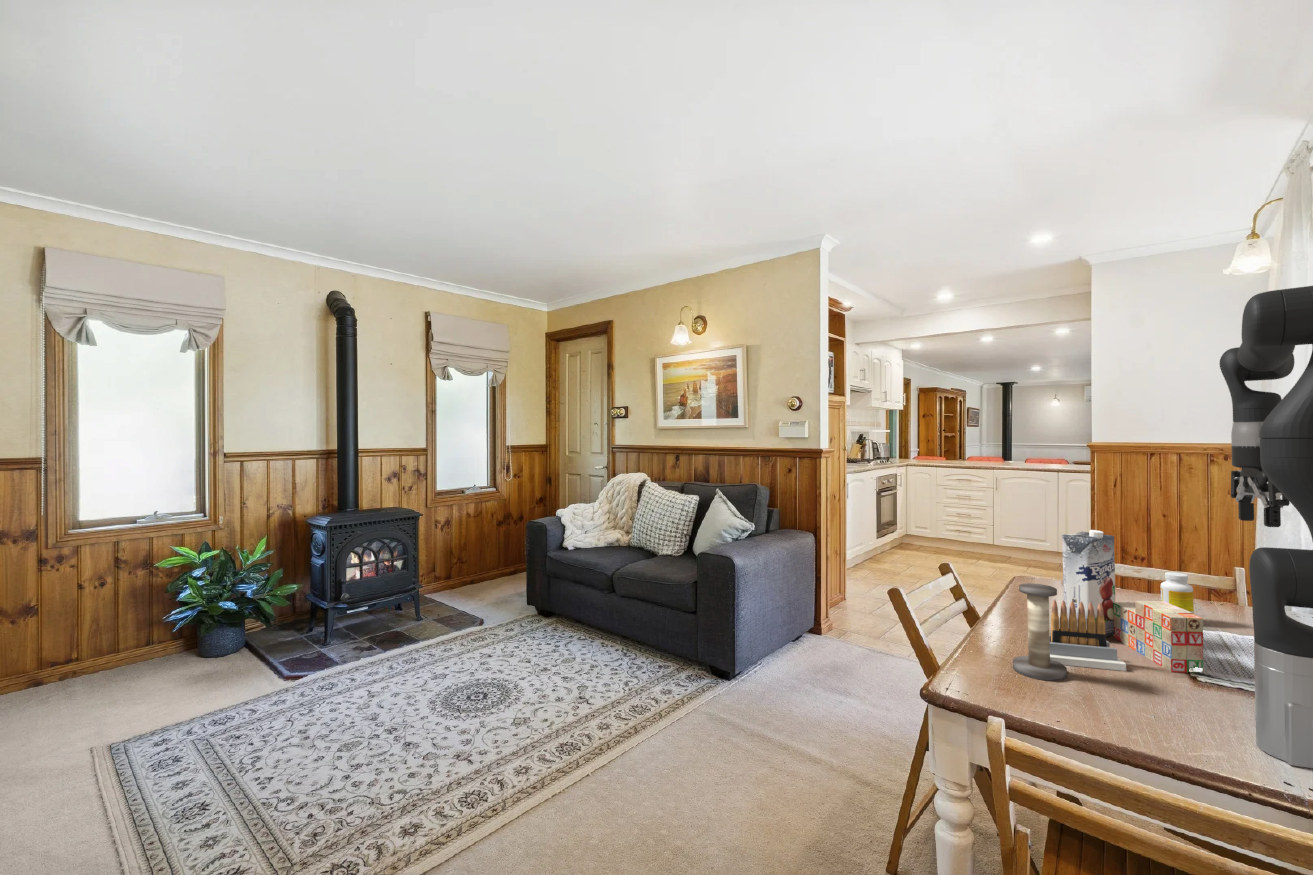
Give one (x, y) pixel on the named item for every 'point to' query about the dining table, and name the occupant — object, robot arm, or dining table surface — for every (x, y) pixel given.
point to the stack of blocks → (1161, 633)
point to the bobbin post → (1039, 637)
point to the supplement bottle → (1177, 591)
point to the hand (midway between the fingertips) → (1258, 523)
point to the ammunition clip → (1081, 636)
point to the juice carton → (1089, 574)
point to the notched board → (1086, 656)
